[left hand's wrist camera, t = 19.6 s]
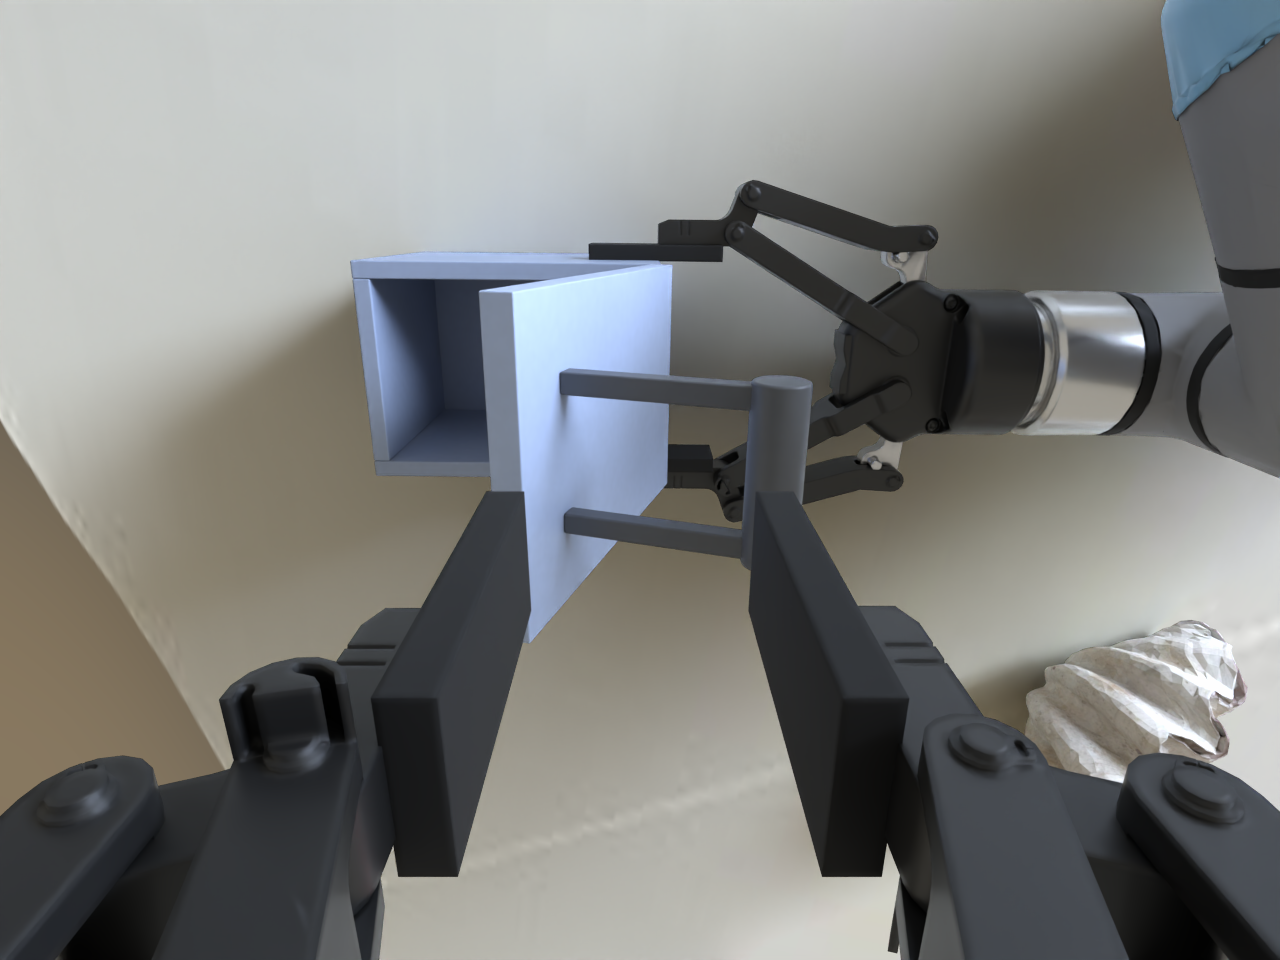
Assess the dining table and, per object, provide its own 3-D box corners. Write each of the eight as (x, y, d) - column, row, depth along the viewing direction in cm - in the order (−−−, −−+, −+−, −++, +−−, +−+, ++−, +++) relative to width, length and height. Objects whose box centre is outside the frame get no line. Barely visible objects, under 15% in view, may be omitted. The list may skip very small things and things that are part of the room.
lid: (499, 638, 22) (776, 693, 19) (477, 290, 18) (810, 304, 16) (647, 481, 35) (821, 502, 32) (650, 264, 31) (845, 269, 29)
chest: (437, 418, 46) (375, 476, 35) (422, 251, 42) (349, 260, 32) (653, 420, 46) (657, 478, 35) (656, 254, 42) (661, 263, 32)
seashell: (970, 647, 51) (1043, 742, 42) (1185, 592, 50) (1312, 678, 40) (990, 758, 54) (1063, 869, 45) (1193, 710, 53) (1312, 815, 43)
